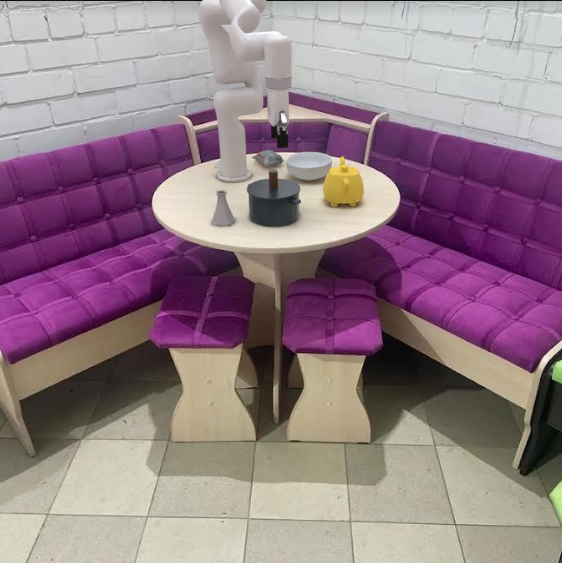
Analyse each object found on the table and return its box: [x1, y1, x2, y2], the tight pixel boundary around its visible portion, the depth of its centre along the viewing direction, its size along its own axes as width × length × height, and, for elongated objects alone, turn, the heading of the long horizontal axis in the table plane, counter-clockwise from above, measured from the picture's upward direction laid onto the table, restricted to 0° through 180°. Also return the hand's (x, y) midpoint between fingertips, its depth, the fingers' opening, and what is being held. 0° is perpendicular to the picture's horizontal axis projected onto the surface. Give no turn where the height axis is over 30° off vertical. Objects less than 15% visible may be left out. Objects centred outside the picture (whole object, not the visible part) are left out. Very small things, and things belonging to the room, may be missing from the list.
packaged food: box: [251, 149, 285, 167], centre depth 220 cm, size 9×12×5 cm
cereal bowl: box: [285, 151, 333, 182], centre depth 207 cm, size 17×17×7 cm
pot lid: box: [246, 168, 301, 200], centre depth 174 cm, size 17×17×7 cm
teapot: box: [322, 156, 365, 207], centre depth 187 cm, size 13×20×12 cm
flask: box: [211, 189, 235, 227], centre depth 174 cm, size 7×7×10 cm
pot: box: [247, 183, 302, 228], centre depth 177 cm, size 16×21×9 cm
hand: (279, 142), depth 168 cm, fingers open, 9 cm apart
